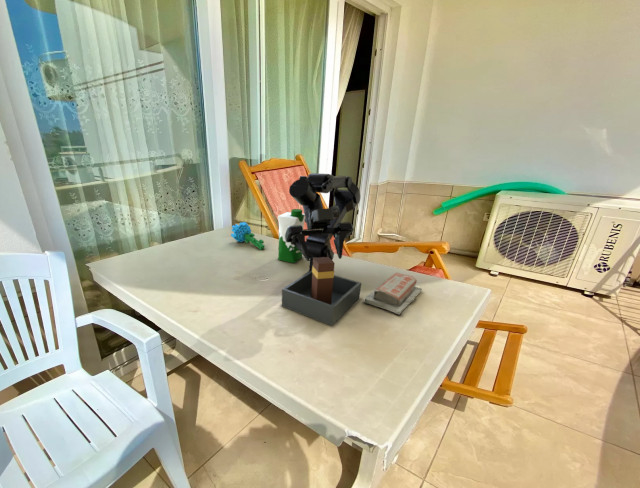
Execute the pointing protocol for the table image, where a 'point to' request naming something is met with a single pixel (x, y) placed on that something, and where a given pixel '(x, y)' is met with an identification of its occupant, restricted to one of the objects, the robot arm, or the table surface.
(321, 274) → the chocolate box
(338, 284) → the open storage bin
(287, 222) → the milk carton
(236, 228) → the toy flower
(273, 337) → the table surface
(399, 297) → the packaged product
